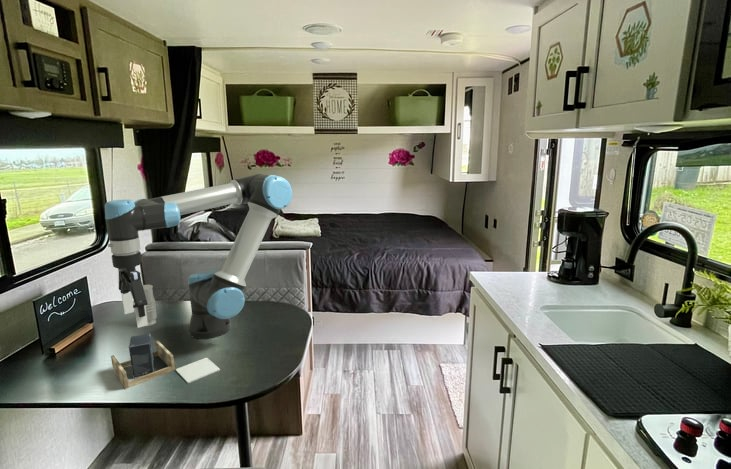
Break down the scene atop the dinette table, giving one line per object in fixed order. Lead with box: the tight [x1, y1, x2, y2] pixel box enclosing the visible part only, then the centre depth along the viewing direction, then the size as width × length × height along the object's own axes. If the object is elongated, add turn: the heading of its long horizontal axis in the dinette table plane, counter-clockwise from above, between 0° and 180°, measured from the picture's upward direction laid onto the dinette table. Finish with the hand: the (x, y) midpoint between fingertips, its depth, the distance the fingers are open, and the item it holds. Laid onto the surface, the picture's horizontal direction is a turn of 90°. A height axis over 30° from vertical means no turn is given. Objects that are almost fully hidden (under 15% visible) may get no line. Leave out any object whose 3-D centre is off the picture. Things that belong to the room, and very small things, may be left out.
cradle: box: [110, 340, 176, 390], centre depth 126 cm, size 14×14×5 cm
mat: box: [175, 357, 221, 384], centre depth 126 cm, size 10×10×1 cm
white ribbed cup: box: [140, 284, 158, 327], centre depth 159 cm, size 7×7×15 cm
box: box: [128, 333, 155, 379], centre depth 125 cm, size 8×6×11 cm
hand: (135, 319), depth 123 cm, fingers open, 13 cm apart
